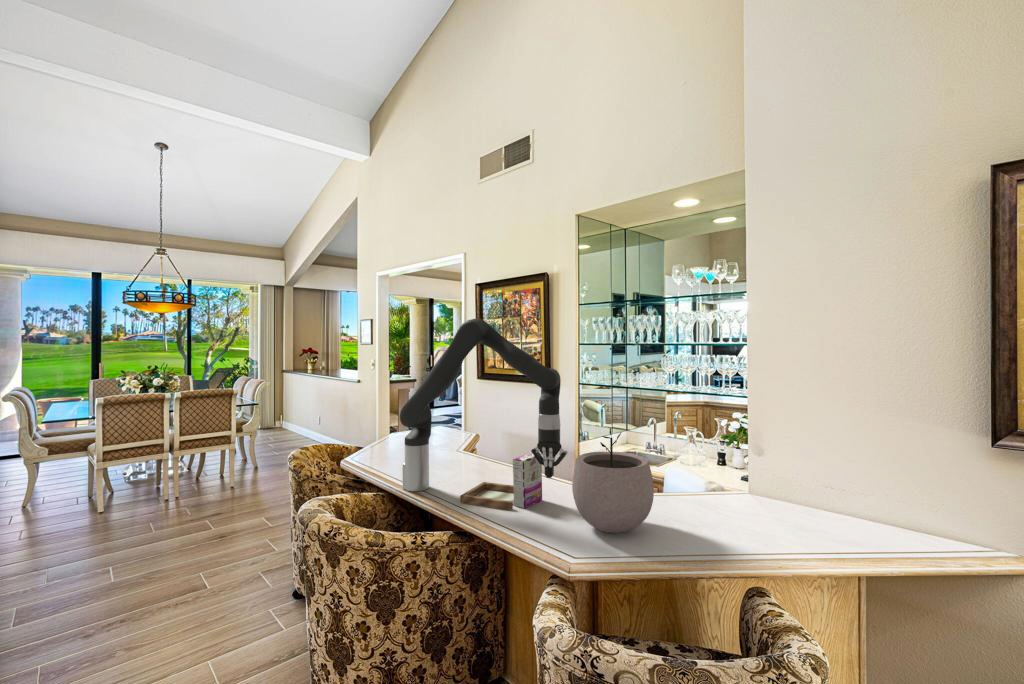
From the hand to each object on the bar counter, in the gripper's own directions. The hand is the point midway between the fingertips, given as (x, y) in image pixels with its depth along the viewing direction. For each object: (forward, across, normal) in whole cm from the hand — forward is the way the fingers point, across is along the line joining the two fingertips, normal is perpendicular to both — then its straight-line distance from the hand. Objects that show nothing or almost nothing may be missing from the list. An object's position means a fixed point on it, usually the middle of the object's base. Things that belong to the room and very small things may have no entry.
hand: (549, 477), depth 161 cm
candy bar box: (+10, -8, 0) cm, 13 cm away
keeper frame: (+10, -20, 0) cm, 22 cm away
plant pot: (+10, +24, -11) cm, 28 cm away
